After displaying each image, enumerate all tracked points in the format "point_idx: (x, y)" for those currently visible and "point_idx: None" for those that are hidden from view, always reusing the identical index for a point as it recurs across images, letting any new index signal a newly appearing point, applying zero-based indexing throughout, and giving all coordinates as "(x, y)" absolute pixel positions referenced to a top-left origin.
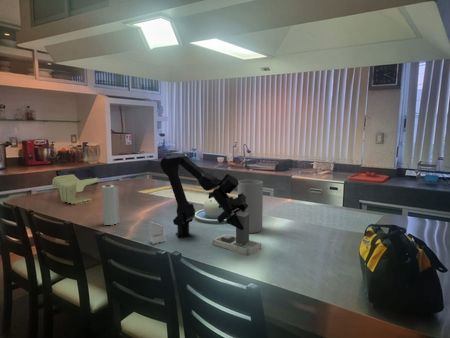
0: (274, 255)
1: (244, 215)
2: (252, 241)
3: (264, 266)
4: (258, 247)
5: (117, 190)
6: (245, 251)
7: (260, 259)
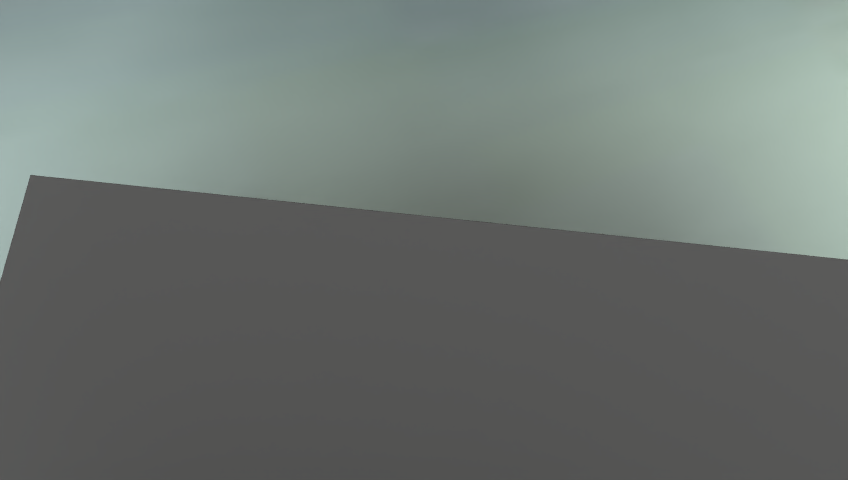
0: (392, 23)
1: (766, 286)
2: None
3: (710, 50)
4: None
5: None
6: None
7: (580, 131)
